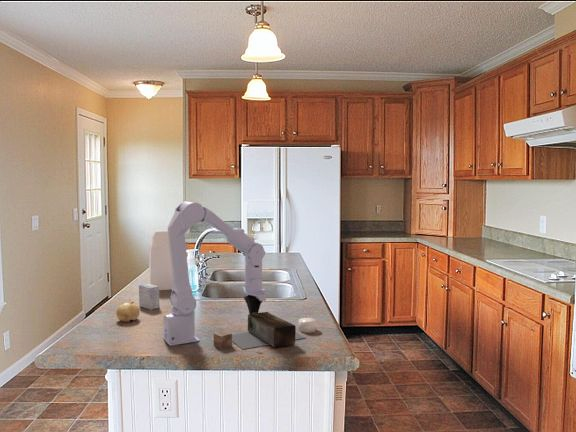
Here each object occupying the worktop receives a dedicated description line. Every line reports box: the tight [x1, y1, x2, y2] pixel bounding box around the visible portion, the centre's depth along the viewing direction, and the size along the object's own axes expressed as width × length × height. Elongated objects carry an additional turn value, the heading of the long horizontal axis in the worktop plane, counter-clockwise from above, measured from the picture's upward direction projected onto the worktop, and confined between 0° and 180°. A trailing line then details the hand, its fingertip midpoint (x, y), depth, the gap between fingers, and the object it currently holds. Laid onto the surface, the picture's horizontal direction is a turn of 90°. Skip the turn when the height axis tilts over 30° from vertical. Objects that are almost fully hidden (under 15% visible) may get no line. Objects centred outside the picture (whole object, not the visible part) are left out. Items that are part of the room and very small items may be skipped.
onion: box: [115, 299, 140, 323], centre depth 182 cm, size 8×8×7 cm
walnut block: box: [213, 330, 233, 350], centre depth 156 cm, size 4×4×4 cm
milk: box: [148, 230, 173, 291], centre depth 234 cm, size 12×12×26 cm
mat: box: [232, 331, 306, 350], centre depth 165 cm, size 22×14×1 cm, turn 119°
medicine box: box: [138, 283, 160, 311], centre depth 200 cm, size 8×4×9 cm, turn 47°
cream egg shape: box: [298, 317, 317, 334], centre depth 172 cm, size 6×6×4 cm
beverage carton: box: [247, 311, 297, 348], centre depth 163 cm, size 8×19×7 cm, turn 30°
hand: (253, 317), depth 172 cm, fingers closed
